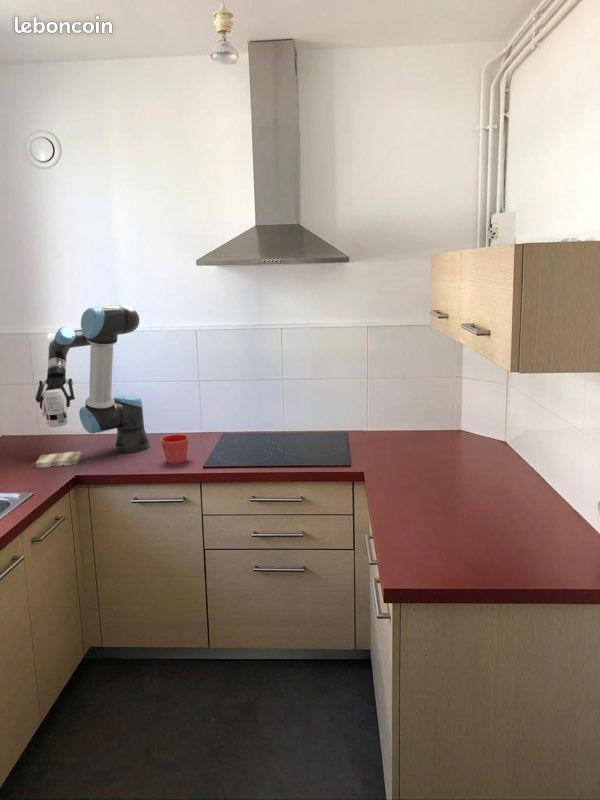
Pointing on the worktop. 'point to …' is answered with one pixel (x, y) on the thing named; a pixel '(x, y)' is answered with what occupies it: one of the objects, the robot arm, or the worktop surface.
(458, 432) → the worktop surface
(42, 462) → the birch board
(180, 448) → the flower pot
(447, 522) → the worktop surface
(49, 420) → the supplement can
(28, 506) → the worktop surface
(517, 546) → the worktop surface
